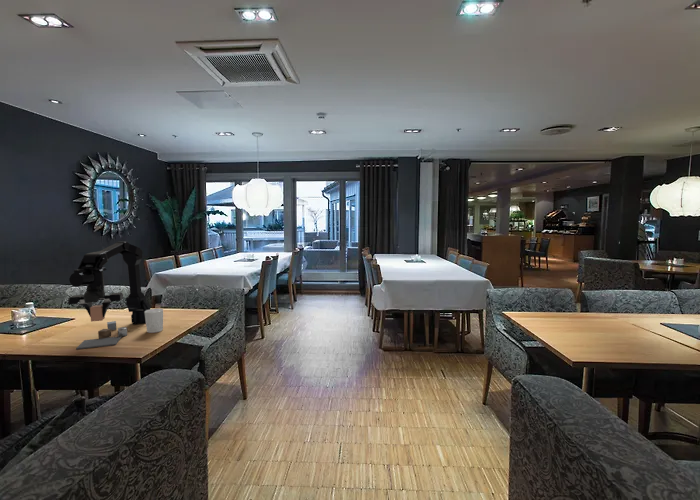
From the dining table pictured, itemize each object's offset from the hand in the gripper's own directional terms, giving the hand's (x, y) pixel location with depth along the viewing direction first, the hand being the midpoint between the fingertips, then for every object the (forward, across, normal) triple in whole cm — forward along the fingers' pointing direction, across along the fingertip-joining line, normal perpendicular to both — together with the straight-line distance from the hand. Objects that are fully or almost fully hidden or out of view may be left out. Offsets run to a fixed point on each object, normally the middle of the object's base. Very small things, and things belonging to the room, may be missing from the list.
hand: (97, 317), depth 152 cm
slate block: (+11, 0, +20) cm, 23 cm away
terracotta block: (+1, 0, 0) cm, 1 cm away
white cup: (+11, +20, +10) cm, 25 cm away
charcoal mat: (+11, 0, 0) cm, 11 cm away
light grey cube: (+11, +7, +7) cm, 15 cm away
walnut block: (+11, 0, +8) cm, 14 cm away
